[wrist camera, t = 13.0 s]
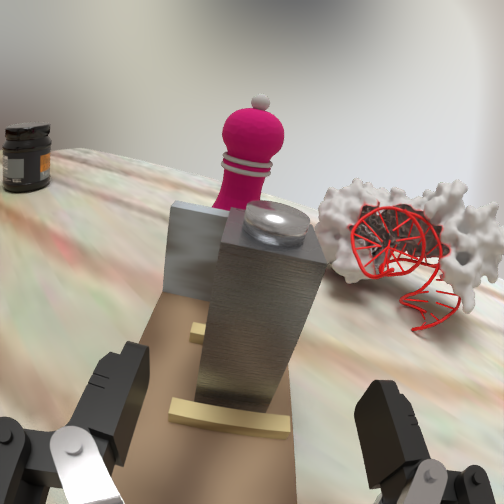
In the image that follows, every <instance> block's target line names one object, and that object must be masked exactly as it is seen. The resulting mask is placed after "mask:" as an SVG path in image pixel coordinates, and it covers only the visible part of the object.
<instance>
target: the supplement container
mask: <svg viewBox="0 0 504 504" xmlns="http://www.w3.org/2000/svg"><path fill="white" fill-rule="evenodd" d="M49 133H50V123H46V122H31V123H20V124H14V125H10V126H7V127H6V129H5V137H6V141H5V142H4V144H3V147H2V150H3V186H4V188H5V189H7V190H8V191H11V192H29V191H34V190H37V189H40V188H42V187H44V186H45V185H47V184H48V182H49V180H50V150H51V139H50V137H49V136H48V134H49Z"/></svg>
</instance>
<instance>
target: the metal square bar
mask: <svg viewBox="0 0 504 504" xmlns="http://www.w3.org/2000/svg"><path fill="white" fill-rule="evenodd" d="M326 267H327V261H326V259H325V256H324V254H323V251H322V248H321V246H320V243H319V241H318V238H317V236H316V233H315V231H314V228H313V226H312V225H311V224H310V218H309V217H308V216H307V215H306V214H304V213H303V212H301V211H300V210H298V209H295V208H293V207H291V206H288V205H285V204H281V203H277V202H272V201H263V200H258V201H251V202H249V203H248V204H247V206H246V210H243V209H238V208H233V207H231V209H230V212H229V216H228V219H227V222H226V225H225V229H224V232H223V235H222V239H221V243H220V248H219V253H218V259H217V264H216V270H215V275H214V281H213V286H212V292H211V298H210V304H209V310H208V316H207V321H206V327H205V334H204V340H203V346H202V352H201V359H200V365H199V371H198V378H197V385H196V391H195V398H194V402H198V403H203V404H208V405H213V406H219V407H225V408H231V409H237V410H244V411H251V412H259V413H266V411H267V409H268V407H269V405H270V403H271V401H272V398H273V396H274V394H275V392H276V390H277V387H278V385H279V383H280V381H281V378H282V376H283V374H284V372H285V369H286V367H287V365H288V362H289V360H290V358H291V355H292V353H293V351H294V348H295V346H296V344H297V341H298V339H299V336H300V334H301V331H302V329H303V327H304V324H305V322H306V319H307V317H308V314H309V312H310V309H311V306H312V304H313V301H314V299H315V296H316V293H317V291H318V288H319V285H320V283H321V280H322V277H323V275H324V272H325V269H326Z"/></svg>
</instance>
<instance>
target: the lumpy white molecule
mask: <svg viewBox="0 0 504 504" xmlns="http://www.w3.org/2000/svg"><path fill="white" fill-rule="evenodd" d="M466 192H467V186H466V185H465V184H464V183H462V182H461V181H460V180H455V181H454V182H453V183H452V184H450V183H443V182H440V183H439V184H438V187H437V188H436V192H434V191H433V192H431V190H429V189H427V190H425V191H424V192H423V197H420V196H418V197H416V198H414V199H410V198H409V197H407V196H406V194H405V191H404V190H402V189H399V188H397V187H393V188H392V189H391V193H390V192H388V191H387V190H386V189H385V188H383V187H382V188H379V189H376V188H374V187H373V185H372V184H371V183H370V182H366V183H365V184H363V182H362V181H361V180H360V179H359V178H354V179H353V181H352V184H351V185H350V186H347V187H343V188H342V189H340V190H337V189H335V188H333V187H329V188H328V190H327V192H326V195H325V197H324V201H322V202H321V203H320V205H319V208H318V211H319V217H318V218H319V221H320V222H318V223H317V224H316V225H315V233H316V236H317V238H318V241H319V243H320V246H321V248H322V251H323V254H324V256H325V259H326V261H327V264H329V263H331V266H332V269H334V270H335V272H336V273H338V274H339V275H342V276H344V277H345V281H346V283H348V284H351V283H356V282H358V281H359V280H360V279H366V280H367V279H379V278H382V277H384V276H387V277H391V276H402V275H406V274H409V273H411V272H412V271H413V270H415V269H416V268H417V267H418V266H419V265H420V264H421V265H424V266H429V267H432V268H436V269H435V271H434V273H433V274H432V276H431V277H430V279H429V280H428V282H426V283H425V284H424V285H423V286H422V287H421V288H420V289H419V290H417V291H415V292H411V293H408V294H406V295H404V296H402V297H401V298H400V300H399V301H400V303H401V304H402V305H406V306H409V307H412V308H415V309H417V310H419V311H420V312H421V314H422V316H423V318H424V320H425V317H424V315H423V313H427V311H426V310H424V309H422V308H420V307H418V306H415V305H412V304H409V303H405V302H403V301H402V300H403V299H404V300H409V301H419V302H428V301H425V300H415V299H405V298H407V297H409V296H414V295H416V294H420V293H428V292H429V291H423V290H424V289H425V288H426V287H427V286H428V285H429V284H430V283H431V282H432V280H433V279H434V277H435V276H436V274H437V272H438V270H441V271H442V273H443V274H441V275H440V278H441V279H436V281H445V282H446V283H447V284H450V285H451V286H452V288H453V292H454V294H453V293H448V292H442V291H437V290H436V292H439V293H444V294H450V295H455V296H458V303H457V305H456V307H455V308H453V307H450V306H447V305H444V304H441V303H438V302H436V304H439V305H442V306H445V307H448V308H451V309H453V310H452V311H451V312H450V313H449V314H447V315H446V316H445V317H443V318H442V319H440V320H439V319H438V318H436V317H435V316H434V315H433V314H432V313H430V314H431V315H432V316H433V317H434V318H435V319H436V320H437V321H436V322H434V323H432V324H428V325H425V323H426V322H424V324H423V325H422V326H421V327H415V328H412V329H411V330H412V331H417V330H423V329H427V328H430V327H433V326H435V325H437V324H440V323H442V322H443V321H445V320H446V319H447V318H449V317H450V316H451V315H452V314H454V313H455V312H456V311H457V309H458V308H459V306H460V303H461V300H462V304H463V312H464V313H466V314H469V313H470V312H471V311H472V310H473V308H474V306H475V299H474V298H475V292H474V290H473V288H476V287H478V286H479V285H480V283H481V277H482V276H484V275H485V276H487V278H488V281H489V282H490V283H495V282H496V281H497V279H498V264H499V262H500V261H501V259H502V255H504V226H499V223H498V221H497V220H496V217H495V216H496V213H497V210H498V208H499V206H498V204H497V202H495V201H493V202H491V203H490V204H488V205H486V206H482V207H479V208H478V209H475V208H474V207H473V206H467V207H466V209H465V206H464V202H463V200H462V197H463V194H464V193H466ZM406 250H407V252H408V254H406V253H404V252H405V251H406ZM394 251H396V252H399V253H400V254H399V256H398V258H396V257H395V256H394V254H393V252H394ZM401 254H404V255H406V256H408V257H411V259H407V258H399V257H400V255H401ZM391 256H393V257H394V259H392V260H390V258H391ZM416 257H420V258H419V260H418V258H416ZM432 257H438V258H439V260H438V261H439V262H438V264H429V263H427V259H426V258H432ZM412 258H413V259H416V260H418V261H416V260H412ZM423 258H425V262H426V263H424V262H422V260H423ZM398 261H407V262H412V263H416V264H415V265H414V266H412V267H411V268H410V269H409V270H407V271H404V270H403V268H402V267H401V265H400V264H399V262H398ZM392 262H397V264H398V265H399V267H400V269H401V270H402V272H395V273H392V272H394V268H390V269H389V265H388V264H389V263H392ZM386 264H387V266H386ZM385 267H387V270H386V271H385V272H383V271H384V268H385ZM375 270H378V271H379V273H380V274H378V275H376V271H375ZM422 291H423V292H422ZM422 312H423V313H422ZM424 325H425V326H424Z"/></svg>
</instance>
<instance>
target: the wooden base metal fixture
mask: <svg viewBox="0 0 504 504" xmlns="http://www.w3.org/2000/svg"><path fill="white" fill-rule="evenodd" d="M229 212H230V211H226V210H222V209H217V208H212V207H207V206H202V205H196V204H191V203H186V202H181V201H175V202H174V203H173V204H172V205H171V209H170V217H169V226H168V235H167V245H166V256H165V267H164V280H163V292H162V294H161V296H160V298H159V300H158V302H157V304H156V307H155V309H154V311H153V313H152V315H151V317H150V319H149V322H148V324H147V326H146V328H145V330H144V332H143V335H142V337H141V339H140V341H139V344H142V345H146V346H149V350H150V380H149V386H148V390H147V393H146V396H145V399H144V402H143V405H142V408H141V411H140V415H139V418H138V421H137V424H136V427H135V430H134V434H133V437H132V440H131V444H130V447H129V450H128V454H127V457H126V461H125V464H124V467H121V466H118V465H115V466H114V469H113V473H112V476H111V477H112V480H113V482H114V484H115V486H116V488H117V490H118V492H119V494H120V496H121V498H122V499H123V501H124V503H125V504H297V494H296V474H295V456H294V440H293V425H292V410H291V396H290V383H289V370H288V365H287V367H286V369H285V372H284V374H283V376H282V378H281V381H280V383H279V385H278V387H277V390H276V392H275V394H274V396H273V398H272V401H271V403H270V405H269V407H268V409H267V411H266V413H259V412H251V411H244V410H237V409H231V408H225V407H219V406H213V405H208V404H203V403H198V402H194V398H195V391H196V385H197V378H198V371H199V365H200V359H201V352H202V346H203V340H204V334H205V327H206V321H207V316H208V310H209V304H210V298H211V292H212V286H213V281H214V275H215V270H216V264H217V259H218V253H219V248H220V243H221V239H222V235H223V232H224V229H225V225H226V222H227V219H228V216H229Z"/></svg>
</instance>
